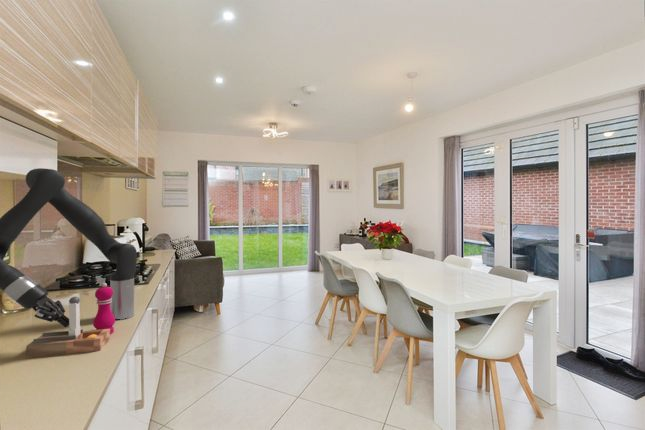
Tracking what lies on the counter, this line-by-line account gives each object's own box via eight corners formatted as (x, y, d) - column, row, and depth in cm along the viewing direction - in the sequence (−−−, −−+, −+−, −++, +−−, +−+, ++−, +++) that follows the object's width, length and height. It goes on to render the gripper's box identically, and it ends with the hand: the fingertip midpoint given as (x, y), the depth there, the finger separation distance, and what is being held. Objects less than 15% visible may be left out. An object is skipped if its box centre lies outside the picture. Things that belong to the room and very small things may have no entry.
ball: (93, 345, 118) (85, 338, 117) (103, 337, 119) (94, 330, 118) (89, 350, 114) (80, 342, 113) (99, 342, 115) (90, 334, 114)
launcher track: (42, 345, 116) (42, 331, 116) (110, 339, 122) (110, 325, 122) (26, 357, 106) (26, 342, 106) (100, 350, 112) (100, 335, 112)
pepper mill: (91, 333, 127) (91, 282, 127) (112, 328, 132) (112, 279, 132) (95, 338, 122) (94, 286, 122) (117, 333, 127) (117, 283, 127)
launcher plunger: (72, 334, 116) (72, 295, 115) (82, 333, 117) (81, 294, 116) (66, 338, 112) (66, 298, 111) (77, 337, 113) (76, 298, 112)
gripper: (24, 288, 104) (69, 323, 108) (46, 279, 117) (85, 310, 121) (4, 306, 103) (50, 340, 107) (28, 295, 115) (69, 326, 119)
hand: (69, 324), depth 114 cm, fingers closed
